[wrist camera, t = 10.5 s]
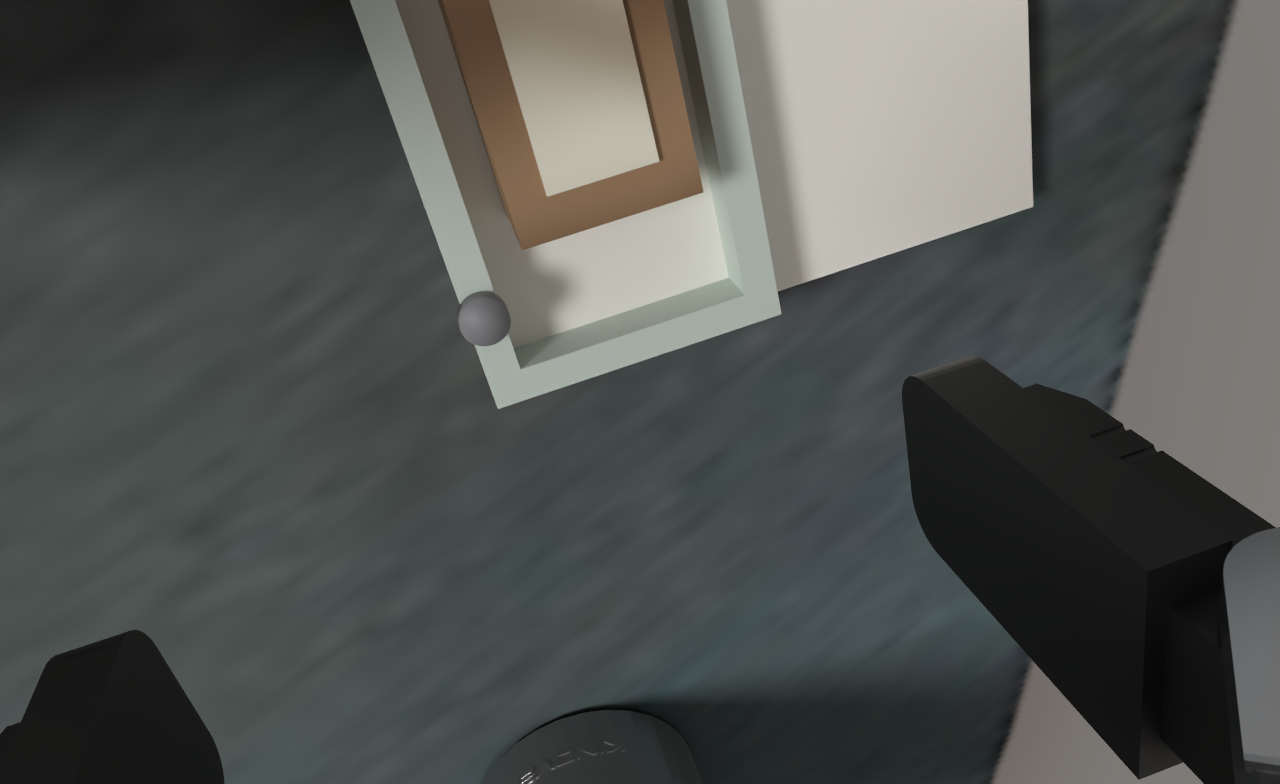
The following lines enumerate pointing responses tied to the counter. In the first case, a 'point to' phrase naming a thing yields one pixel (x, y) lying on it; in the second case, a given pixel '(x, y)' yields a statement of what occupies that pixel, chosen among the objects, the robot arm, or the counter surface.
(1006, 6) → the wall panel
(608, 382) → the counter surface
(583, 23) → the frame
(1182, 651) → the robot arm
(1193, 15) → the counter surface
